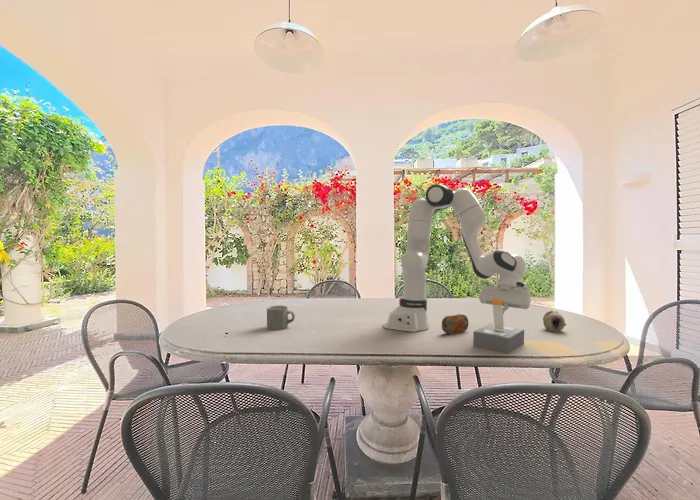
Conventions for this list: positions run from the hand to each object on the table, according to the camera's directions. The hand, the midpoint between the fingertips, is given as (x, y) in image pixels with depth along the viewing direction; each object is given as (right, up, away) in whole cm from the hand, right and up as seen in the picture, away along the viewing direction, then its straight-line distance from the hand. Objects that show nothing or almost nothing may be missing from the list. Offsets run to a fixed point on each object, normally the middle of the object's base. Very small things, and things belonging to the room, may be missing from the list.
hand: (499, 313), depth 141 cm
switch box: (0, -13, +1) cm, 13 cm away
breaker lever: (0, -6, 0) cm, 6 cm away
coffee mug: (-96, -12, +26) cm, 101 cm away
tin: (-13, -13, +18) cm, 26 cm away
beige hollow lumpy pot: (+37, -13, +22) cm, 45 cm away
